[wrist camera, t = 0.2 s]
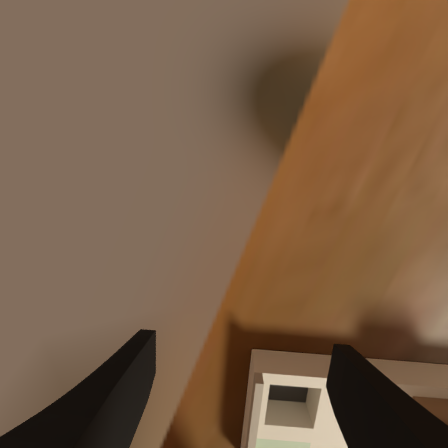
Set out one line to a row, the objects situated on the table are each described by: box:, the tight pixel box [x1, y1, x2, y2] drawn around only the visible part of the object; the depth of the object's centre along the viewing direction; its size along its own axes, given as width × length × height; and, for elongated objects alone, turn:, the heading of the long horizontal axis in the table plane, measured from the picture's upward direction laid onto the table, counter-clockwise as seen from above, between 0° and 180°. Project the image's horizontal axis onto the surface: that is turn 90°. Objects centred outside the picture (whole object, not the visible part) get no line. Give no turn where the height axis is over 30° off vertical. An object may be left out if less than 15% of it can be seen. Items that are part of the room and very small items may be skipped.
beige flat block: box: [241, 349, 448, 448], centre depth 21 cm, size 12×23×4 cm, turn 86°
